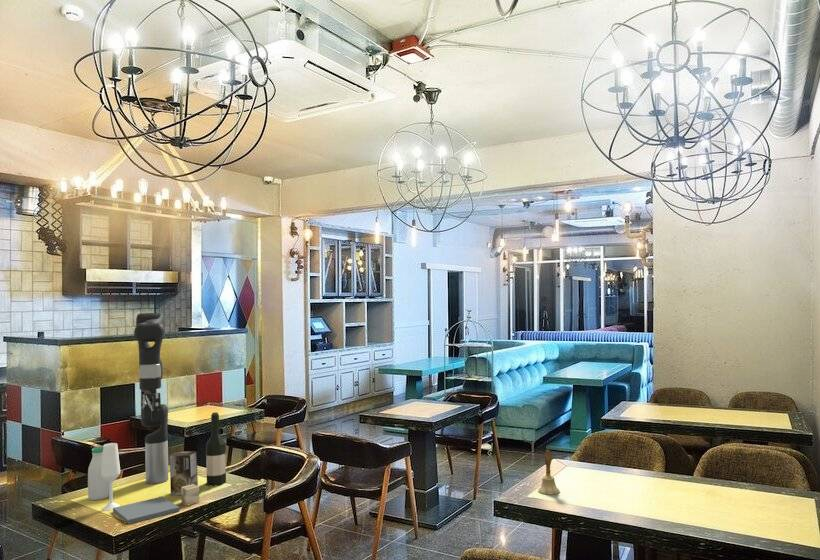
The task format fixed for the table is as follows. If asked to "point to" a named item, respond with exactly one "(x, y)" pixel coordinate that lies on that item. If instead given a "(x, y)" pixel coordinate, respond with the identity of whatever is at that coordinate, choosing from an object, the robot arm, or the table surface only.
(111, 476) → the champagne flute
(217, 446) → the wine bottle
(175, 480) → the coffee box
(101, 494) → the milk bottle
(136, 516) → the slate board
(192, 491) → the birch block
